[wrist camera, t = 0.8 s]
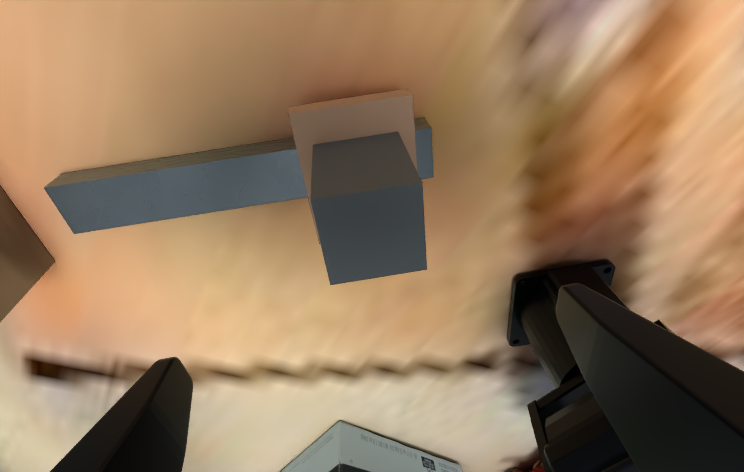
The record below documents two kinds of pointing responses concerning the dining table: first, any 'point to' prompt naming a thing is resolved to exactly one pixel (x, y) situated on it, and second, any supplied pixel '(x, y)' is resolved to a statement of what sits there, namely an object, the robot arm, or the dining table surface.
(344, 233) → the carriage
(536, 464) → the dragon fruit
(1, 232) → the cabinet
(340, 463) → the tea box
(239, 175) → the rail
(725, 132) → the dining table surface
